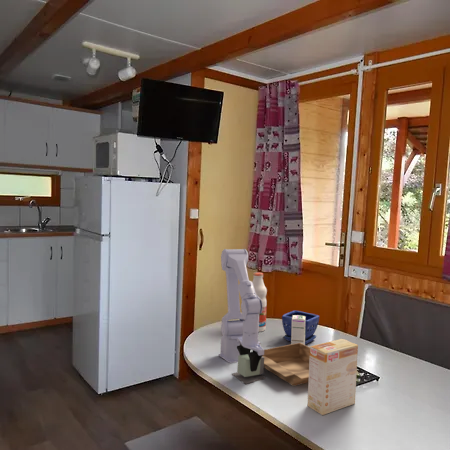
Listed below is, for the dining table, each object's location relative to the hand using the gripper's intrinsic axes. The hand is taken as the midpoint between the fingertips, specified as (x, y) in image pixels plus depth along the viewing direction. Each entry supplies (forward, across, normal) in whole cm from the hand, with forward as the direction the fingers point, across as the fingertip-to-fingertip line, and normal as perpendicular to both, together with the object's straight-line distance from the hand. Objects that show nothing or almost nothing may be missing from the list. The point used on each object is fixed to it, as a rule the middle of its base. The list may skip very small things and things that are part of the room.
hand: (249, 368), depth 152 cm
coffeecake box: (+3, -29, -12) cm, 32 cm away
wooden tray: (+3, -6, -17) cm, 18 cm away
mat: (+3, 0, 0) cm, 3 cm away
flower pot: (+4, +22, -43) cm, 48 cm away
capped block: (+2, 0, 0) cm, 2 cm away
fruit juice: (+3, +44, -34) cm, 56 cm away
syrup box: (+3, +13, -34) cm, 37 cm away
